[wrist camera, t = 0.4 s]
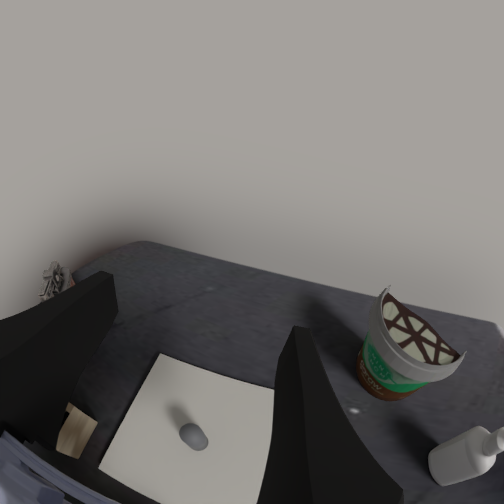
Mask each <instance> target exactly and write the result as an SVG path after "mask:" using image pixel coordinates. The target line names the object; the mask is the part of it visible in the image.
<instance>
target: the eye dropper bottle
mask: <svg viewBox="0 0 504 504" xmlns="http://www.w3.org/2000/svg"><path fill="white" fill-rule="evenodd" d="M502 451H504V427H502V428H500V429H498V430H496V431H495V432H493V433H491V434H490V432H488V431H487V430H486V429H485V428H483V427H481V426H476V427H474V428H472V429H470V430H468V431H466V432H464V433H462V434H461V435H459V436H457V437H455V438H453V439H451V440H449V441H446V442H444V443H442V444H440V445H438V446H437V447H435V448H434V449H433V450H431V451H430V453H429V455H428V464H429V470H430V473H431V475H432V477H433V479H434V480H435V481H436V482H437V483H438V484H439V485H441V486H446V485H450V484H454V483H457V482H461V481H464V480H467V479H470V478H474V477H476V476H479V475H482V474H483V473H485V472H487V471H488V470H489V469H490V468H491V466H492V465H493V464H494V462H495V459H496V454H498V453H500V452H502Z"/></svg>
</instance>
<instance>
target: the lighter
mask: <svg viewBox="0 0 504 504" xmlns="http://www.w3.org/2000/svg"><path fill="white" fill-rule="evenodd" d="M43 280H44V281H43V283H42V286H41V288H40V291H39V295H38V296H39V298H40V299H41V301H42V302H44V301H46V300H48V299H50V298H52V297H54V296H56V295H57V294H59V293H61V292H63V291H65V290H66V289H68V288H70V287H72V286H73V285H75V283H74V281H73V279H72V277H71V272H70V270H69V268H67V267H62V268H61V267H60V265H59V263H58V261H53V262H51V264H50V266H49V269H48V270H46V271H44V273H43Z"/></svg>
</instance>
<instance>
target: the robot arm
mask: <svg viewBox="0 0 504 504" xmlns="http://www.w3.org/2000/svg"><path fill="white" fill-rule="evenodd" d="M117 313H118V306H117V299H116V293H115V286H114V278H113V275H112V274H109V273H107V272H104V271H99V272H97V273H95V274H93V275H91V276H90V277H88V278H86V279H84V280H82V281H81V282H79V283H77V284H75V285H73V286H72V287H70V288H68V289H66V290H65V291H63V292H61V293H59V294H57V295H56V296H54V297H52V298H50V299H48V300H46V301H44V302H42V303H40V304H38V305H36V306H34V307H32V308H30V309H28V310H26V311H23V312H21V313H19V314H16V315H14V316H11V317H8V318H5V319H2V320H0V504H72V503H70V502H68V501H66V500H65V499H64V496H65V495H64V493H63V492H62V491H60V490H59V489H58V488H60V489H61V490H63V491H64V492H66V493H68V494H69V495H71V496H73V497H74V498H76V499H78V500H80V501H81V502H83V503H85V504H120V503H118V502H116V501H114V500H112V499H109V498H107V497H105V496H103V495H101V494H99V493H97V492H95V491H93V490H91V489H89V488H88V487H86V486H84V485H82V484H80V483H79V482H77V481H75V480H73V479H72V478H70V477H68V476H67V475H65V474H64V473H62V472H60V471H59V470H57V469H56V468H54V467H53V466H51V465H50V464H48V463H47V462H45V461H44V460H43V459H41V458H40V457H38V456H37V455H36V454H34V453H33V452H32V451H30V450H29V449H28V448H27V447H25V446H24V445H23V442H24V441H25V440H26V441H27V442H29V443H30V444H33V442H34V440H35V441H37V442H38V443H39V444H41V445H42V446H44V447H45V448H46V449H48V450H54V449H56V446H57V441H58V436H59V432H60V428H61V424H62V421H63V417H64V414H65V411H66V408H67V405H68V403H69V400H70V398H71V395H72V393H73V390H74V388H75V386H76V384H77V381H78V379H79V377H80V375H81V373H82V372H83V370H84V368H85V367H86V365H87V363H88V362H89V360H90V359H91V357H92V356H93V354H94V353H95V351H96V350H97V348H98V346H99V345H100V343H101V342H102V340H103V339H104V337H105V336H106V334H107V333H108V331H109V329H110V327H111V325H112V323H113V321H114V319H115V317H116V315H117ZM28 466H29V467H30V468H31V469H32V470H34V471H35V472H36V473H38V474H39V475H41V476H42V477H43V478H45V479H46V480H45V479H43V478H41V477H40V476H38V475H36V474H34V473H33V472H31V471H30V470H29V467H28ZM47 480H48V481H49V482H48V481H47ZM50 482H51V483H52V484H51V483H50ZM53 484H54V485H55V486H57V487H58V488H57V487H55V486H54V485H53ZM256 504H404V495H403V489H402V488H401V487H400V486H399V485H398V484H397V483H396V482H395V481H394V480H393V479H392V478H391V477H390V476H389V475H388V474H387V473H386V472H385V471H384V470H383V468H382V467H381V466H380V465H379V464H378V462H377V461H376V460H375V459H374V458H373V456H372V455H371V453H370V452H369V451H368V449H367V448H366V446H365V445H364V444H363V442H362V441H361V440H360V438H359V437H358V435H357V433H356V432H355V430H354V429H353V427H352V425H351V424H350V422H349V420H348V418H347V417H346V415H345V413H344V411H343V409H342V407H341V405H340V403H339V401H338V399H337V397H336V395H335V393H334V391H333V388H332V386H331V384H330V382H329V379H328V377H327V374H326V372H325V369H324V367H323V364H322V361H321V359H320V356H319V353H318V350H317V347H316V344H315V341H314V338H313V335H312V332H311V330H310V329H309V328H304V327H299V326H295V325H294V326H293V328H292V331H291V333H290V335H289V337H288V339H287V342H286V344H285V346H284V348H283V350H282V352H281V354H280V356H279V360H278V365H277V371H276V377H275V387H274V404H273V421H272V434H271V442H270V447H269V453H268V458H267V463H266V467H265V472H264V476H263V480H262V484H261V488H260V492H259V496H258V500H257V503H256Z"/></svg>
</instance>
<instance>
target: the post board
mask: <svg viewBox="0 0 504 504" xmlns="http://www.w3.org/2000/svg"><path fill="white" fill-rule="evenodd" d="M273 404H274V390H272V389H268V388H264V387H261V386H257V385H253V384H249V383H246V382H242V381H239V380H235V379H232V378H229V377H226V376H222V375H219V374H216V373H213V372H210V371H207V370H204V369H201V368H198V367H195V366H192V365H190V364H187V363H184V362H181V361H179V360H176V359H173V358H171V357H168V356H166V355H163V354H161V353H160V355H159V357H158V358H157V360H156V362H155V364H154V365H153V367H152V369H151V371H150V373H149V374H148V376H147V378H146V380H145V381H144V383H143V385H142V387H141V389H140V390H139V392H138V394H137V396H136V398H135V400H134V401H133V403H132V405H131V407H130V409H129V410H128V412H127V414H126V416H125V418H124V420H123V422H122V423H121V425H120V427H119V429H118V431H117V433H116V435H115V437H114V439H113V440H112V442H111V444H110V446H109V448H108V450H107V452H106V454H105V456H104V458H103V460H102V462H101V464H100V466H99V469H100V470H102V471H103V472H105V473H106V474H108V475H110V476H111V477H113V478H114V479H116V480H118V481H119V482H121V483H123V484H124V485H126V486H128V487H130V488H132V489H133V490H135V491H137V492H139V493H141V494H143V495H145V496H147V497H149V498H151V499H153V500H155V501H157V502H159V503H161V504H256V503H257V500H258V496H259V492H260V488H261V484H262V480H263V476H264V472H265V467H266V463H267V458H268V453H269V447H270V442H271V434H272V421H273Z"/></svg>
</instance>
